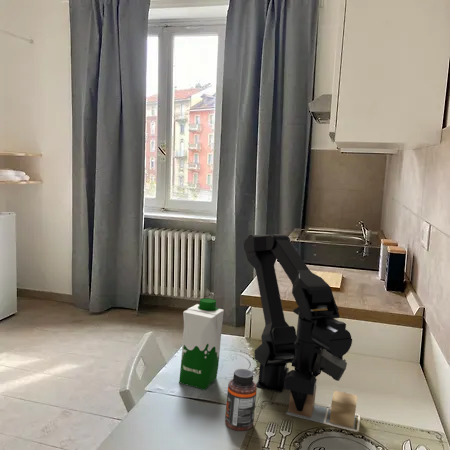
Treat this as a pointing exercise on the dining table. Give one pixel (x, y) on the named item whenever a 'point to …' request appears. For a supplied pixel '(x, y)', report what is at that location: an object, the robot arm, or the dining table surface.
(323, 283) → the robot arm
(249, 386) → the supplement bottle
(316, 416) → the mat
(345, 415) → the oak block
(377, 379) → the dining table surface
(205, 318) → the milk carton
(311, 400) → the walnut block
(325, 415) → the outline
